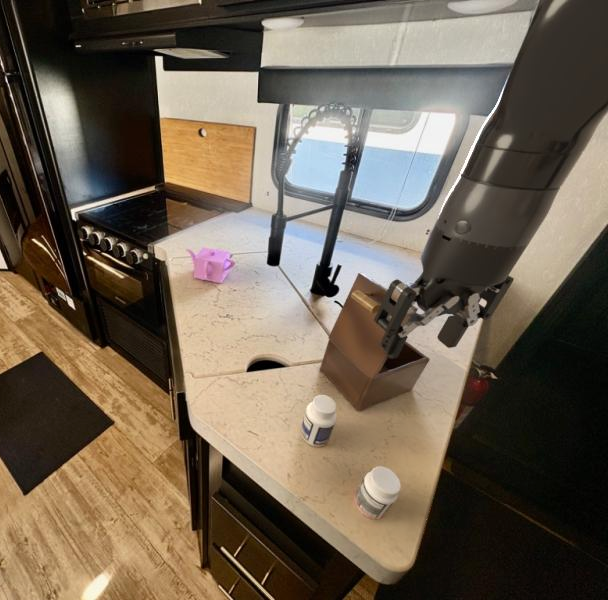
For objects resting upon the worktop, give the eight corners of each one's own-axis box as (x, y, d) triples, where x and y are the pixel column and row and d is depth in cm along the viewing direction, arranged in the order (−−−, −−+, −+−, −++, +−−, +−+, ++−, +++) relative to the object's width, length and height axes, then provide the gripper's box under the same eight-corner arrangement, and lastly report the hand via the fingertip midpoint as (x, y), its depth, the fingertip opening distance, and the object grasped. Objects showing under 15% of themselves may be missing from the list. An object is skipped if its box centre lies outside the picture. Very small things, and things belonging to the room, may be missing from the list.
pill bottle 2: (374, 486, 53) (391, 461, 48) (391, 517, 49) (411, 493, 45) (348, 490, 53) (362, 465, 48) (363, 522, 49) (380, 498, 44)
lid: (361, 272, 60) (341, 273, 58) (418, 308, 51) (397, 311, 49) (330, 337, 69) (312, 340, 67) (374, 379, 59) (354, 383, 57)
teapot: (179, 280, 108) (177, 254, 102) (194, 262, 118) (194, 237, 113) (228, 290, 103) (230, 263, 97) (240, 270, 113) (241, 245, 107)
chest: (369, 352, 80) (381, 323, 74) (411, 389, 70) (430, 359, 64) (319, 369, 75) (328, 339, 69) (357, 411, 65) (372, 381, 60)
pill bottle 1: (331, 430, 62) (344, 399, 56) (324, 452, 58) (336, 422, 52) (304, 417, 64) (314, 386, 58) (296, 438, 60) (305, 407, 55)
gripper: (502, 209, 35) (439, 322, 44) (391, 219, 32) (350, 337, 41) (582, 236, 29) (489, 360, 38) (453, 251, 26) (388, 380, 35)
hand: (417, 348), depth 40 cm, fingers open, 8 cm apart
